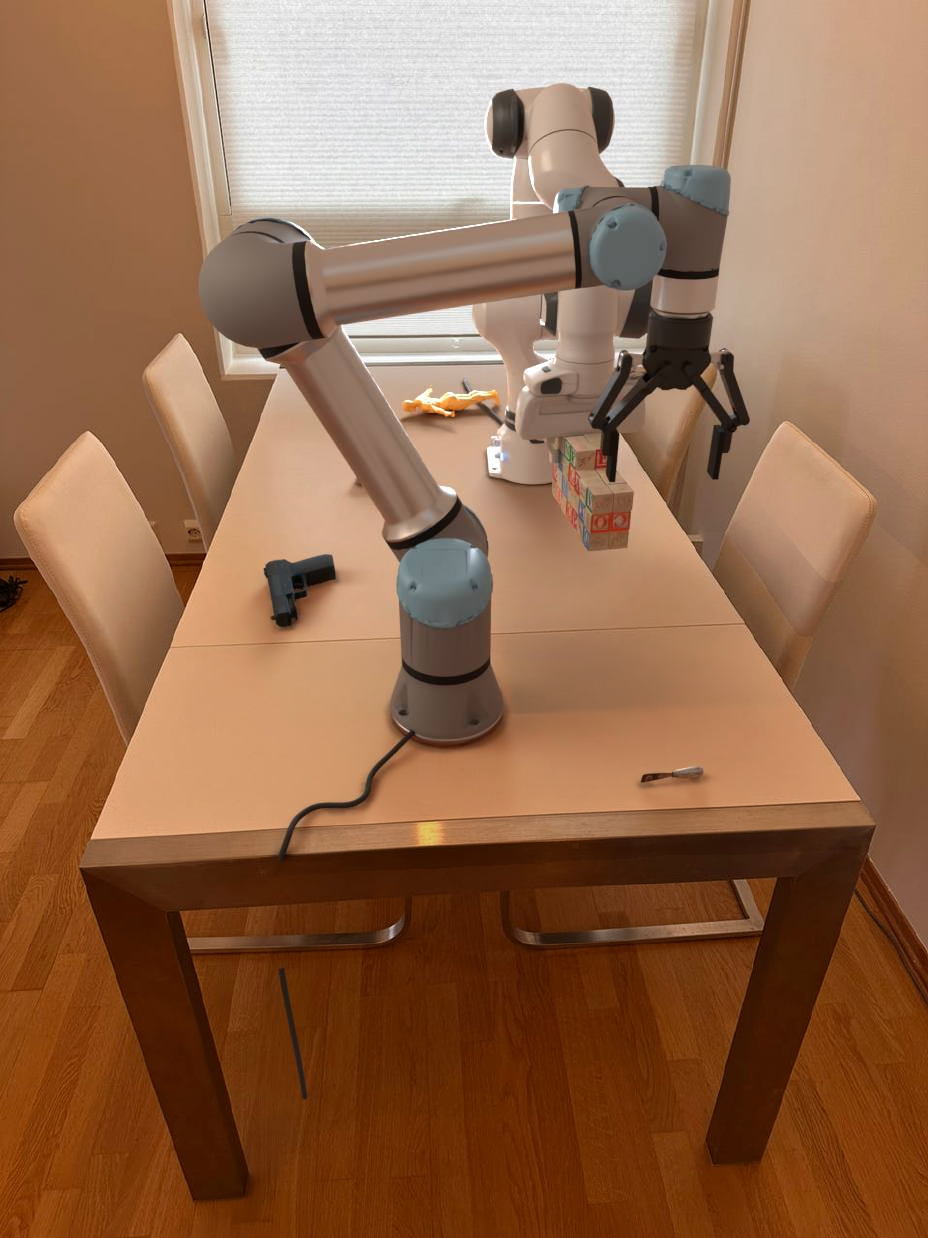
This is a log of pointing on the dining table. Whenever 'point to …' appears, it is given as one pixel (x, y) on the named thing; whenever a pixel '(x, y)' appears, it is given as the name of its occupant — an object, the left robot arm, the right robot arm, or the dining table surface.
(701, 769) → the putty knife
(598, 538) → the stack of blocks
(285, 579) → the handgun
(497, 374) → the dining table surface
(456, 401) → the human figure
